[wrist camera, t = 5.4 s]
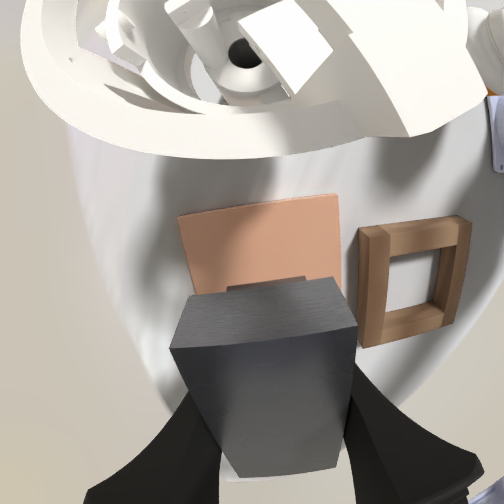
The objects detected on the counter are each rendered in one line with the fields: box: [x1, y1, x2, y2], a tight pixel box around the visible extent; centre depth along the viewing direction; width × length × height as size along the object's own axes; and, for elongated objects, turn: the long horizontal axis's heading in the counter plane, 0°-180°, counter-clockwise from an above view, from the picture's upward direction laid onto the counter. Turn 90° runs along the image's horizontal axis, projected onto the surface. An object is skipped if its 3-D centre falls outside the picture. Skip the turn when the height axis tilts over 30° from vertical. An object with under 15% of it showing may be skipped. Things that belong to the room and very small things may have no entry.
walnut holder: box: [356, 215, 472, 349], centre depth 18 cm, size 9×9×2 cm
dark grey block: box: [169, 276, 358, 478], centre depth 11 cm, size 9×4×8 cm, turn 9°
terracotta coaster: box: [177, 193, 341, 295], centre depth 18 cm, size 10×10×1 cm
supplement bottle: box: [466, 7, 504, 96], centre depth 8 cm, size 5×5×10 cm
